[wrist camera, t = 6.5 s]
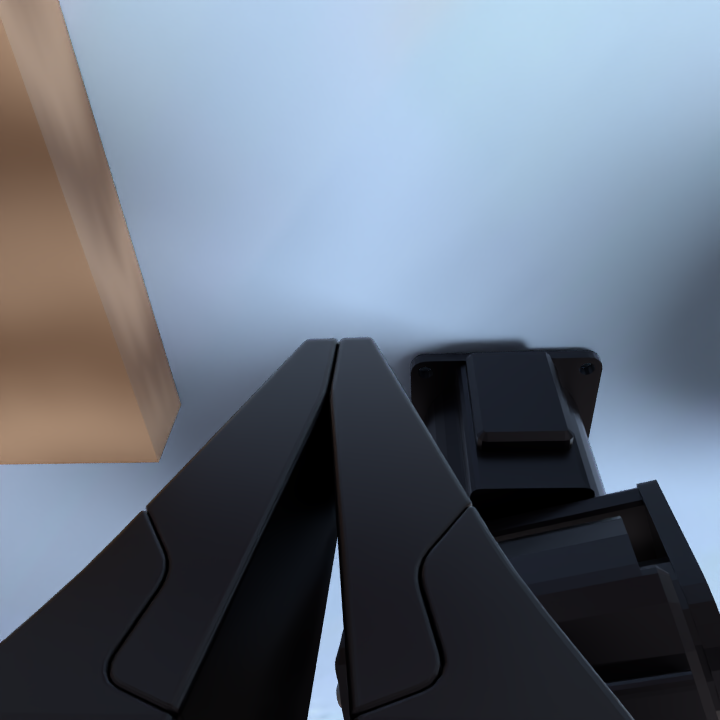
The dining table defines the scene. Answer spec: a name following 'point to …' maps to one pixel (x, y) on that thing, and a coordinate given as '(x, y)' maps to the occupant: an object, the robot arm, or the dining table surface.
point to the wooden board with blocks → (68, 270)
